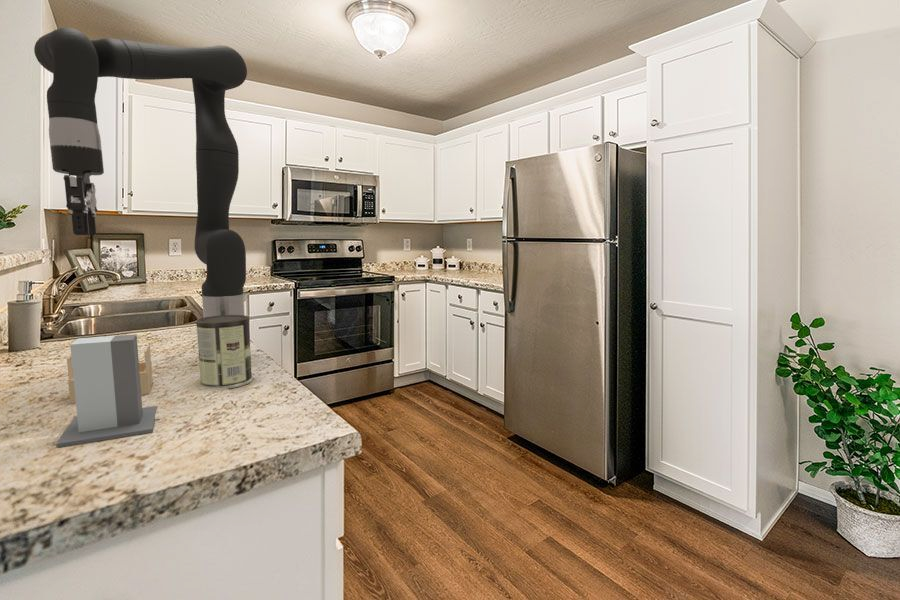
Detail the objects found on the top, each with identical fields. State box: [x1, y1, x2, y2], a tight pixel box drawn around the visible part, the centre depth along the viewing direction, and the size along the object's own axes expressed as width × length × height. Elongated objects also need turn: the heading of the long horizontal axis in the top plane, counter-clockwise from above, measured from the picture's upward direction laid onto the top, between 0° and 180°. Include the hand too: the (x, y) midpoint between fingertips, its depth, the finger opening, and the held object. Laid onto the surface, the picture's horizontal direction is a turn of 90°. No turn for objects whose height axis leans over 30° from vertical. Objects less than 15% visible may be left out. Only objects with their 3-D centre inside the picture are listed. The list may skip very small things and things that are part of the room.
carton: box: [66, 343, 154, 405], centre depth 92 cm, size 12×9×9 cm
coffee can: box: [195, 314, 253, 389], centre depth 101 cm, size 10×10×14 cm
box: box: [70, 333, 143, 432], centre depth 76 cm, size 8×5×14 cm, turn 118°
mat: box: [55, 405, 158, 448], centre depth 77 cm, size 12×12×1 cm
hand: (85, 235), depth 89 cm, fingers open, 8 cm apart
